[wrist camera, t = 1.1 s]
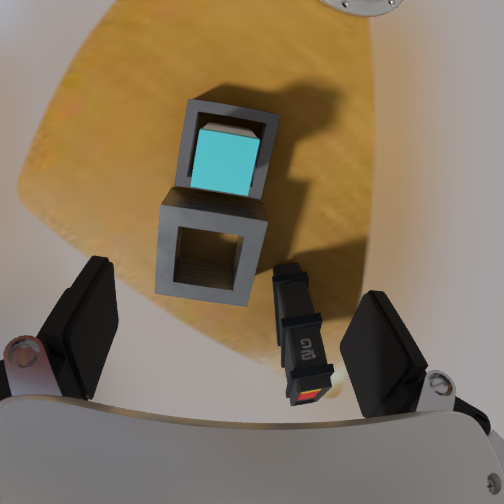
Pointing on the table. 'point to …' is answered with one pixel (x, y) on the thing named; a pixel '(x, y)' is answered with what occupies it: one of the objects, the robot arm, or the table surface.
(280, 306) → the magazine
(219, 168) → the plug
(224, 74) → the table surface
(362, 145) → the table surface
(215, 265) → the port block
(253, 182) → the grey square frame
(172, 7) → the table surface
